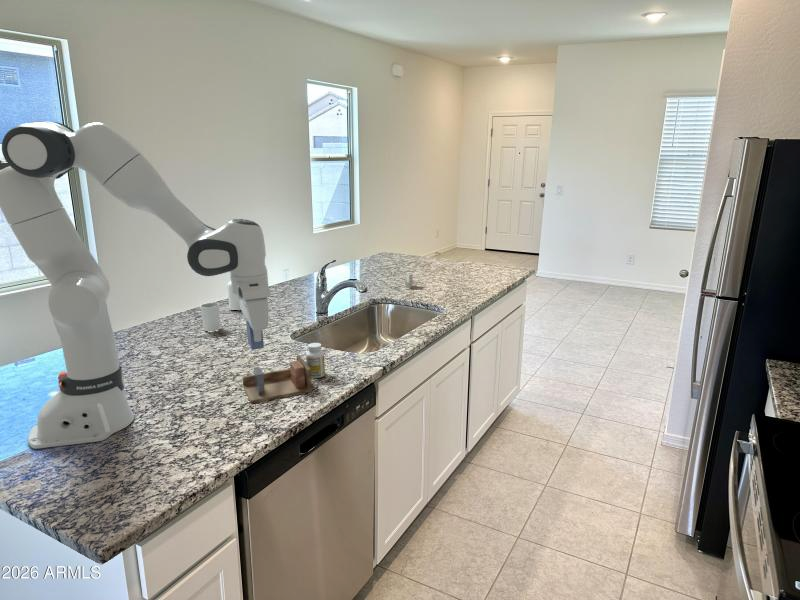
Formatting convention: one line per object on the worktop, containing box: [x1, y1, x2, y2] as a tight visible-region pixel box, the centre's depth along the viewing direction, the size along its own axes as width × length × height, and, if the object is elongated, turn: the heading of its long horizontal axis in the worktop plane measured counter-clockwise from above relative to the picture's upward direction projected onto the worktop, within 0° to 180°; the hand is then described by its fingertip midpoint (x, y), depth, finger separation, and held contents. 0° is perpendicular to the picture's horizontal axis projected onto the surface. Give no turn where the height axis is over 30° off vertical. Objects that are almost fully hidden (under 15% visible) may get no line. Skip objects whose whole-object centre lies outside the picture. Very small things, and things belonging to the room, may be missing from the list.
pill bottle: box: [227, 274, 241, 311], centre depth 228 cm, size 8×8×15 cm
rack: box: [241, 355, 313, 404], centre depth 152 cm, size 17×12×7 cm
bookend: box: [253, 366, 265, 395], centre depth 149 cm, size 2×6×6 cm, turn 26°
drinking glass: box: [199, 301, 221, 332], centre depth 202 cm, size 7×7×10 cm
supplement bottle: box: [305, 342, 326, 379], centre depth 162 cm, size 5×5×10 cm
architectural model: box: [402, 272, 414, 289], centre depth 265 cm, size 3×7×7 cm, turn 163°
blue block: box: [245, 320, 265, 351], centre depth 138 cm, size 3×6×6 cm, turn 25°
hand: (255, 336), depth 138 cm, fingers closed on blue block, 5 cm apart
